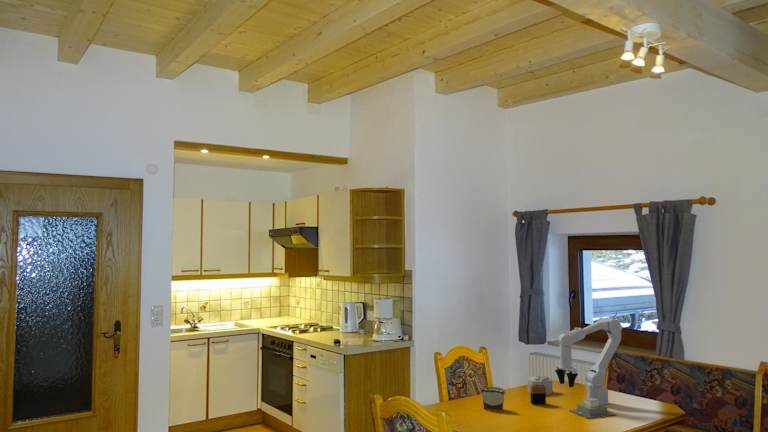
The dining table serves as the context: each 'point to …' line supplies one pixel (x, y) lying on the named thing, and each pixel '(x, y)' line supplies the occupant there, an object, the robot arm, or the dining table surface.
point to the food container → (493, 398)
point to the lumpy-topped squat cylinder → (543, 379)
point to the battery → (538, 394)
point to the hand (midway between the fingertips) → (566, 385)
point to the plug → (591, 402)
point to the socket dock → (592, 411)
